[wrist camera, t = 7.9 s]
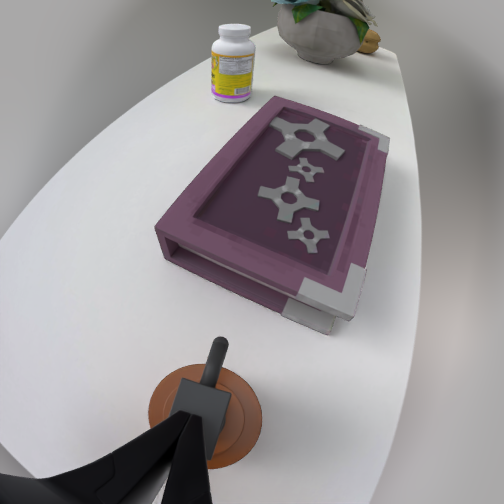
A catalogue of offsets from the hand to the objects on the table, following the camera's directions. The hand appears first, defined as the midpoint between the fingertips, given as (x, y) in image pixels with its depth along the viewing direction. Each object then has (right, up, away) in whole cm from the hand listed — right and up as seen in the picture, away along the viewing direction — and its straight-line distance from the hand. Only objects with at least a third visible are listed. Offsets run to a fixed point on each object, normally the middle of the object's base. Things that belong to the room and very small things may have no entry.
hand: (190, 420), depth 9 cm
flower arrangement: (+18, +54, +50) cm, 76 cm away
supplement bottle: (-1, +32, +34) cm, 47 cm away
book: (+7, +11, +22) cm, 26 cm away
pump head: (0, -1, +4) cm, 4 cm away
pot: (+37, +72, +63) cm, 103 cm away
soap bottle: (-1, -6, +10) cm, 12 cm away
